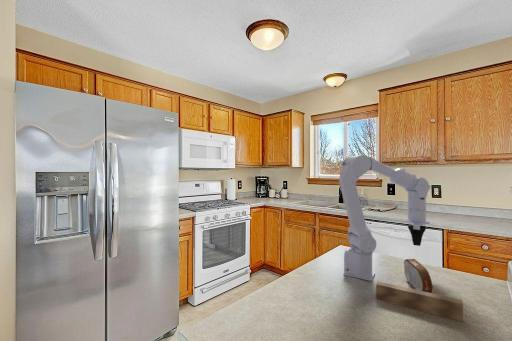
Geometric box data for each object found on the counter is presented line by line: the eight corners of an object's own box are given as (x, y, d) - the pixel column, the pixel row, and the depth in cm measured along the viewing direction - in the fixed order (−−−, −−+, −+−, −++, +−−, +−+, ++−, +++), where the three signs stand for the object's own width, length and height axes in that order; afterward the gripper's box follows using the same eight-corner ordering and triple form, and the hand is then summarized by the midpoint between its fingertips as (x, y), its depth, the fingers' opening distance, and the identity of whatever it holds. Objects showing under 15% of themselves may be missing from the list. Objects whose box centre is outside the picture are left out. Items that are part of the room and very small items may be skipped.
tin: (433, 300, 73) (433, 272, 73) (421, 299, 73) (421, 271, 73) (412, 279, 87) (412, 255, 87) (402, 278, 88) (402, 254, 88)
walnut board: (376, 299, 73) (376, 284, 73) (377, 295, 75) (377, 281, 75) (463, 321, 62) (463, 304, 62) (461, 317, 64) (461, 299, 64)
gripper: (430, 212, 85) (430, 252, 85) (428, 207, 97) (429, 242, 97) (406, 210, 89) (406, 248, 89) (407, 206, 101) (408, 239, 101)
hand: (416, 245), depth 93 cm, fingers closed
